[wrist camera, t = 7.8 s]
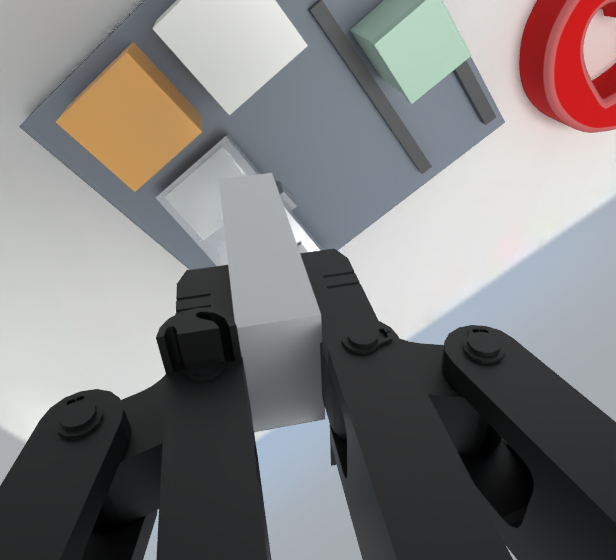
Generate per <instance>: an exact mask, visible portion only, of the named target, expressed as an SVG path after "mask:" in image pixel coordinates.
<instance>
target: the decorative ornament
mask: <svg viewBox="0 0 616 560" xmlns="http://www.w3.org/2000/svg"><path fill="white" fill-rule="evenodd" d="M600 8H602V9H603V12H604V16H610V17H616V0H537V2H536V4H535V6H534V7H533V9H532V12H531V14H530V16H529V18H528V20H527V23H526V26H525V29H524V32H523V36H522V40H521V47H520V60H519V66H520V77H521V82H522V86H523V88H524V91H525V93H526V95H527V97H528V98H529V100H530V101H531V102H532V104H533V105H534V106H535V107H536V108H537V109H538V110H539V111H541V112H542V113H544V114H545V115H547V116H549V117H551V118H553V119H555V120H557V121H559V122H562V123H564V124H566V125H568V126H570V127H572V128H574V129H576V130H579V131H583V132H589V133H593V132H602V131H610V130H614V129H616V63H615V64H614V65H613V66H612V67H611V68H609V69H608V70H607V71H606V72H604V73H603V74H602V75H600V76H599V77H597V78H596V79H594V80H593V81H591V79H590V77H589V75H588V72H587V69H586V66H585V62H584V55H583V44H584V38H585V34H586V30H587V28H588V25H589V23H590V21H591V19H592V18H593V16H594V15H595V13H596V12H597V11H598V10H599V9H600Z"/></svg>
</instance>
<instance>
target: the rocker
mask: <svg viewBox="0 0 616 560" xmlns="http://www.w3.org/2000/svg"><path fill="white" fill-rule="evenodd" d="M258 174H261V173H260V172H259V171H258V170H257V169H256V167H255V166H254V165H253V164H252V163H251V161H250V160H249V159H248V158H247V156H246V155H245V154H244V153H243V152H242V150H241V149H240V148H239V147H238V146H237V144H236V143H235V142H234V141H233V140H232V138H231V137H230V136H229V135H228V136H225V137H224V138H223V139H222V140H221V141H220V142H218V143H217V144H216V145H215V146H214V147H213V148H212V149H210V150H209V151H208V152H207V153H206V154H205V155H204V156H202V157H201V158H200V159H199V160H198V161H197V162H196V163H194V164H193V165H192V166H191V167H190V168H189V169H188V170H187V171H185V172H184V173H183V174H182V175H181V176H180V177H179V178H177V179H176V180H175V181H174V182H173V183H172V184H171V185H169V186H168V187H167V188H166V189H165V190H164V191H163V192H161V193H160V194H159V195H158V196H157V197H156V199H157V200H158V201H159V202H160V203H161V205H162V206H163V207H164V208H165V209H166V210H167V211H168V212H169V213H170V215H171V216H172V217H173V218H174V219H175V220H176V221H177V222H178V223H179V224H180V226H181V227H182V228H183V229H184V230H185V231H186V232H187V233H188V234H189V236H190V237H191V238H192V239H193V240H194V241H195V242H196V243H197V244H198V246H199V247H200V248H201V249H202V250H203V251H204V252H205V253H206V254H207V256H208V257H209V258H210V259H211V260H212V261H213V262H214V263H215V264H216V266H222V265H228V259H227V250H226V241H225V232H224V224H223V215H222V206H221V198H220V189H219V180H218V179H223V178H232V177H240V176H249V175H258ZM281 200H282V199H281ZM282 203H283V206H284V209H285V211H286V214H287V217H288V220H289V223H290V226H291V229H292V232H293V235H294V237H295V240H296V243H297V246H298V249H299V252H300V253H305V252H312V251H319V250H323V248H322V247H321V246H320V245H319V244H318V242H317V241H316V240H315V239H314V238H313V236H312V235H311V234H310V233H309V232H308V230H307V229H306V228H305V227H304V225H303V224H302V223H301V222H300V221H299V219H298V218H297V217H296V216H295V215H294V213H293V212H292V211H291V210H290V209H289V207H288V206H287V205H286V204H285V202H284V201H283V200H282Z"/></svg>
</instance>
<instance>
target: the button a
mask: <svg viewBox="0 0 616 560" xmlns="http://www.w3.org/2000/svg"><path fill="white" fill-rule="evenodd" d="M56 123H57V124H58V125H59V126H60V127H62V128H63V129H64V130H65V131H66V132H67V133H68V134H69V135H71V136H72V137H73V138H74V139H75V140H76V141H77V142H79V143H80V144H81V145H82V146H83V147H84V148H85V149H87V150H88V151H89V152H90V153H91V154H92V155H93V156H94V157H96V158H97V159H98V160H99V161H100V162H101V163H102V164H104V165H105V166H106V167H107V168H108V169H109V170H110V171H111V172H113V173H114V174H115V175H116V176H117V177H118V178H119V179H121V180H122V181H123V182H124V183H125V184H126V185H127V186H129V187H130V188H131V189H132V190H133V191H134V192H136V191H137V190H138V189H139V188H140V187H141V186H142V185H143V184H145V183H146V182H147V181H148V180H149V179H150V178H151V177H152V176H154V175H155V174H156V173H157V172H158V171H159V170H160V169H161V168H162V167H164V166H165V165H166V164H167V163H168V162H169V161H170V160H171V159H173V158H174V157H175V156H176V155H177V154H178V153H179V152H180V151H182V150H183V149H184V148H185V147H186V146H187V145H188V144H189V143H190V142H192V141H193V140H194V139H195V138H196V137H197V136H198V135H199V134H201V133H202V116H201V114H200V113H199V112H198V111H197V110H196V109H195V108H194V107H193V106H192V104H191V103H190V102H189V101H188V100H187V99H186V98H185V97H184V96H183V95H182V94H181V93H180V92H179V90H178V89H177V88H176V87H175V86H174V85H173V84H172V83H171V82H170V81H169V80H168V79H167V78H166V76H165V75H164V74H163V73H162V72H161V71H160V70H159V69H158V68H157V67H156V66H155V65H154V63H153V62H152V61H151V60H150V59H149V58H148V57H147V56H146V55H145V54H144V53H143V52H142V51H141V49H140V48H139V47H138V46H137V45H136V44H135V43H134V42H132V43H131V44H130V45H129V46H128V47H127V48H126V49H125V50H124V51H123V52H122V53H121V54H120V55H119V56H118V57H117V58H116V59H115V60H114V61H113V62H112V63H111V64H110V65H109V66H108V67H107V68H106V69H105V70H104V71H103V72H102V73H101V74H100V75H99V76H98V77H97V78H96V79H95V80H94V81H93V82H92V83H91V84H90V85H89V86H88V87H87V88H85V89H84V90H83V91H82V92H81V93H80V94H79V95H78V96H77V97H76V98H75V99H74V100H73V101H72V102H71V103H70V104H69V105H68V107H67V108H66V109H65V110H64V112H63V113H62V114H61V116H60V117H59V118H58V119H57V121H56Z"/></svg>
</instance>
